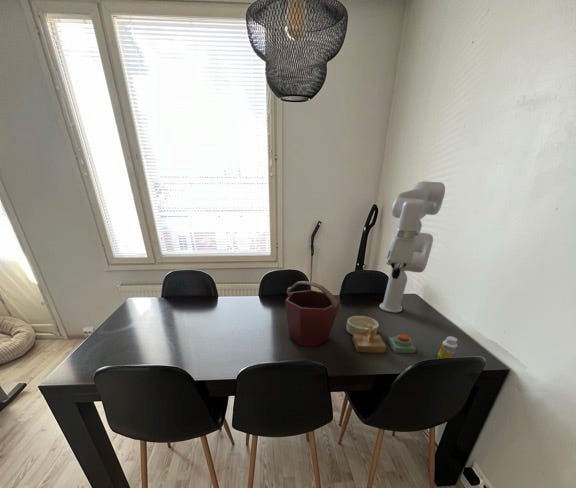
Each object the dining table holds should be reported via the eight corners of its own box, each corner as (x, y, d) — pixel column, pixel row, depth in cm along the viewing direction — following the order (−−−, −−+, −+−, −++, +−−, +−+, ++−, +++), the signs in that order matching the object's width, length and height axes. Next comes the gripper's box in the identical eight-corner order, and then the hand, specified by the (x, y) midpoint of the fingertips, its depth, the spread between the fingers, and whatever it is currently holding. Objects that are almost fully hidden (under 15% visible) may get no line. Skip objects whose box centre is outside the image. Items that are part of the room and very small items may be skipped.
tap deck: (351, 337, 137) (352, 331, 136) (376, 337, 138) (378, 331, 136) (357, 352, 126) (358, 345, 125) (384, 352, 127) (386, 346, 125)
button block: (387, 341, 136) (389, 333, 133) (406, 341, 136) (409, 334, 134) (394, 352, 127) (396, 344, 125) (414, 352, 128) (417, 345, 125)
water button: (396, 337, 131) (397, 333, 130) (406, 337, 132) (407, 334, 131) (399, 342, 128) (400, 338, 127) (409, 342, 128) (410, 338, 127)
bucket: (274, 332, 138) (275, 280, 124) (309, 321, 149) (314, 272, 135) (308, 355, 122) (313, 298, 108) (344, 341, 134) (354, 288, 120)
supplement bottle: (438, 354, 127) (447, 333, 121) (452, 359, 124) (461, 338, 119) (434, 359, 124) (443, 338, 118) (448, 364, 121) (457, 343, 115)
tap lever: (364, 333, 134) (366, 323, 131) (368, 334, 134) (370, 323, 131) (368, 341, 128) (370, 331, 125) (372, 342, 128) (374, 331, 125)
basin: (343, 324, 148) (345, 315, 146) (371, 325, 149) (374, 316, 146) (349, 338, 136) (350, 328, 133) (379, 339, 137) (382, 329, 134)
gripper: (419, 233, 126) (407, 276, 136) (385, 232, 125) (376, 274, 136) (426, 236, 120) (413, 281, 130) (390, 235, 119) (380, 280, 130)
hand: (394, 277), depth 133 cm, fingers closed
